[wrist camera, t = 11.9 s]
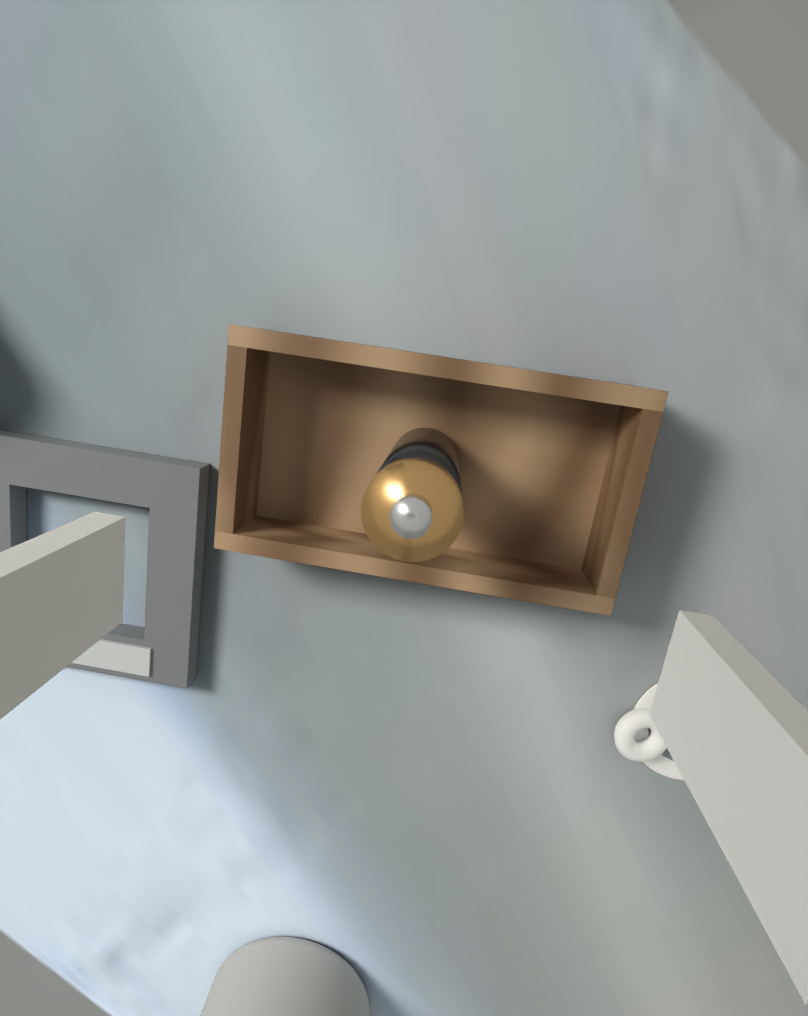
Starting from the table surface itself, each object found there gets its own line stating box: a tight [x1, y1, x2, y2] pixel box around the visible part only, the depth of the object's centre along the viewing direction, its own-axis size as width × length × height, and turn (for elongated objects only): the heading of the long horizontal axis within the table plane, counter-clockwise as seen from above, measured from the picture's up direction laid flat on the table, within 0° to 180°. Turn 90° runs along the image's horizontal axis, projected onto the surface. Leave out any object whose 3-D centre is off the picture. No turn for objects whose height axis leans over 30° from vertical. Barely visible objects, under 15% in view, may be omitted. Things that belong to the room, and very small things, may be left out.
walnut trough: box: [214, 324, 669, 616], centre depth 33 cm, size 22×12×5 cm, turn 81°
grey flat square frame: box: [0, 430, 210, 689], centre depth 39 cm, size 15×15×2 cm
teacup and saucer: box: [614, 683, 684, 780], centre depth 37 cm, size 9×8×4 cm
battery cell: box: [361, 427, 464, 562], centre depth 29 cm, size 4×4×13 cm
